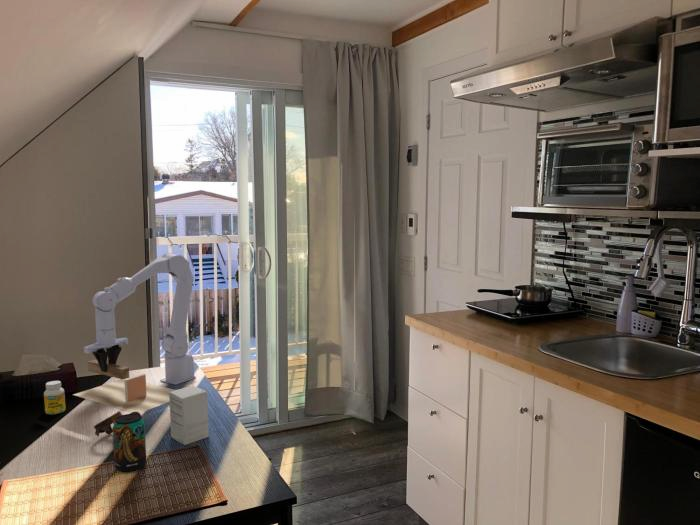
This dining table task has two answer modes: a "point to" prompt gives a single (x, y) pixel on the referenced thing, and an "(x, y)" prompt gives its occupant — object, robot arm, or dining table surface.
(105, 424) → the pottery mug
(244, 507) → the dining table surface
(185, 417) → the supplement box
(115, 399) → the board
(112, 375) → the brown wooden bar
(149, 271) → the robot arm
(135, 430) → the beverage can
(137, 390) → the tile
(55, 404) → the supplement bottle
